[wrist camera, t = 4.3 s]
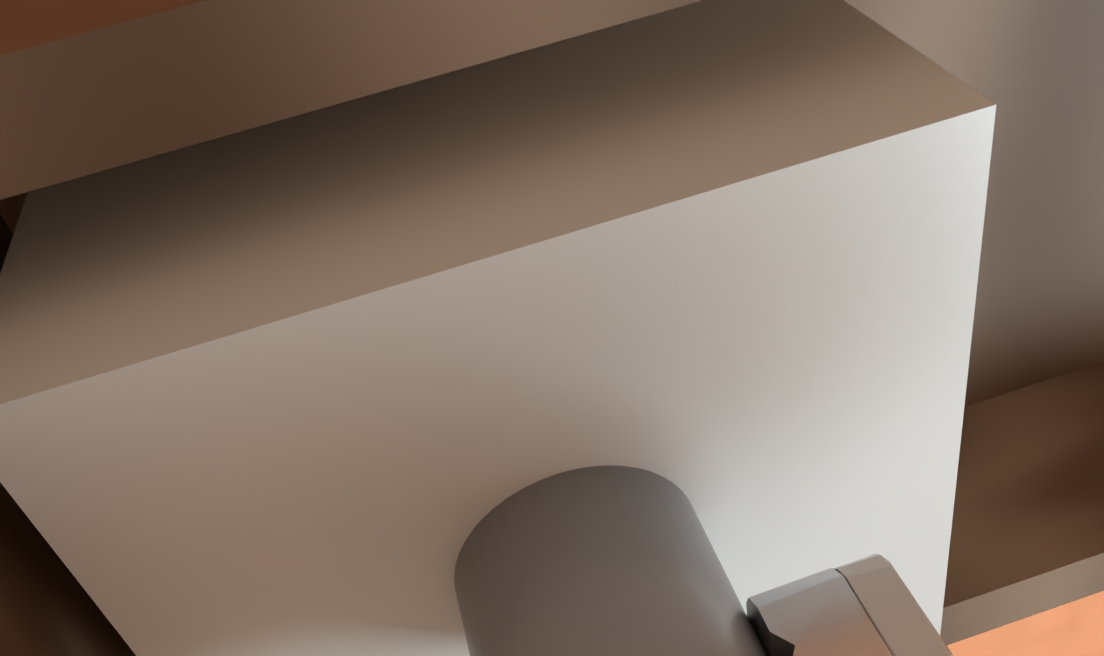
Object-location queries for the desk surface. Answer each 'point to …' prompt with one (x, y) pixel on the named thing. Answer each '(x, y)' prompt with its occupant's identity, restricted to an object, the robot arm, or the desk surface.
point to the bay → (568, 11)
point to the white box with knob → (513, 349)
